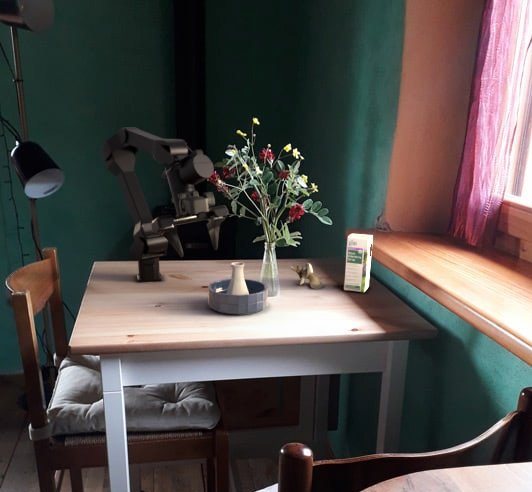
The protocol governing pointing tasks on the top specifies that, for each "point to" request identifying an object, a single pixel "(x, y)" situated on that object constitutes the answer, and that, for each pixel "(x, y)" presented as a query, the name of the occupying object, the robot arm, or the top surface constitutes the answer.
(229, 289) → the flask
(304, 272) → the animal figurine
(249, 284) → the blue faceted bowl
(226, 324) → the top surface
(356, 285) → the syrup box
